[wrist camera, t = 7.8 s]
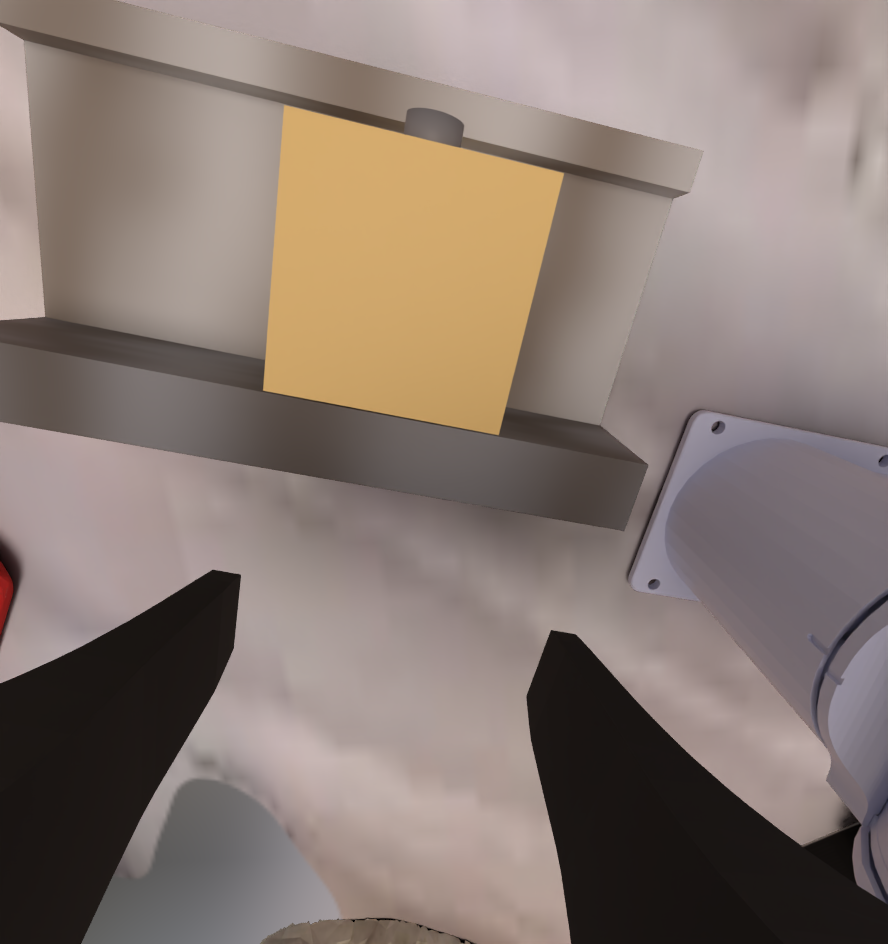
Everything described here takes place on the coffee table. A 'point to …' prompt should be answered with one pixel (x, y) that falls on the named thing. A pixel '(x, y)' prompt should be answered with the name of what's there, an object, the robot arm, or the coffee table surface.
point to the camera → (837, 849)
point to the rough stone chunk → (359, 933)
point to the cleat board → (251, 255)
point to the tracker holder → (4, 594)
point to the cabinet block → (402, 268)
